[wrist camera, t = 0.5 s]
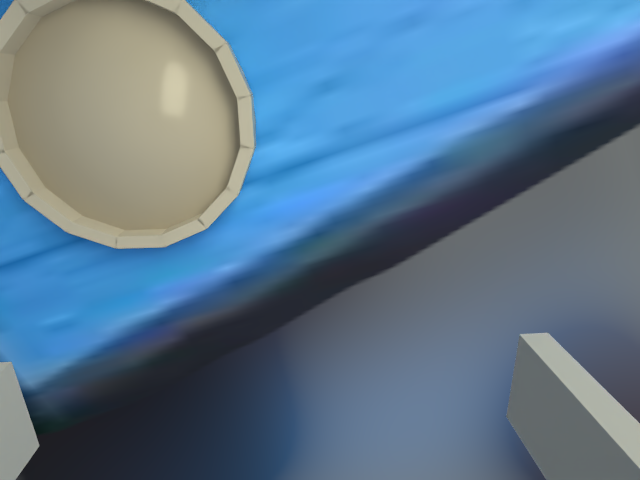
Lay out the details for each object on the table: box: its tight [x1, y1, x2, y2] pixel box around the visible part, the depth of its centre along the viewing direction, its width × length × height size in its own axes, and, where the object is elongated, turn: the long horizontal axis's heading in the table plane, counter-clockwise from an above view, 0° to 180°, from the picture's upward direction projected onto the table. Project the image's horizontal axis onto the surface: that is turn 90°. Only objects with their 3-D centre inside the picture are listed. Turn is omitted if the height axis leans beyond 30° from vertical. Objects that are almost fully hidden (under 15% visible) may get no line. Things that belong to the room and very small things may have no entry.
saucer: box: [0, 0, 256, 249], centre depth 32 cm, size 19×19×2 cm
